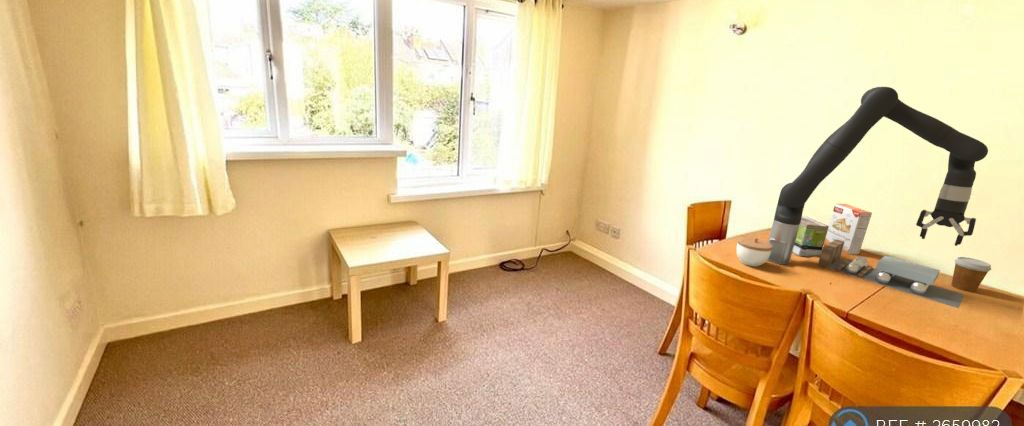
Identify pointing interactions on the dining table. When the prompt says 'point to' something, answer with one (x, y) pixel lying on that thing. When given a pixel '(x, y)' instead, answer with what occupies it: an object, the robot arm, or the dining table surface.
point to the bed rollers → (915, 287)
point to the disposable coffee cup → (969, 273)
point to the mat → (905, 284)
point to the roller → (856, 265)
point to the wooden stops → (837, 257)
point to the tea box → (810, 237)
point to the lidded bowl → (753, 251)
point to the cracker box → (848, 227)
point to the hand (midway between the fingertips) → (939, 241)
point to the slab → (908, 270)
